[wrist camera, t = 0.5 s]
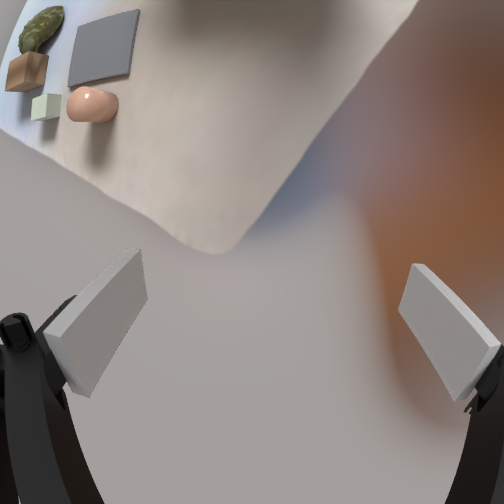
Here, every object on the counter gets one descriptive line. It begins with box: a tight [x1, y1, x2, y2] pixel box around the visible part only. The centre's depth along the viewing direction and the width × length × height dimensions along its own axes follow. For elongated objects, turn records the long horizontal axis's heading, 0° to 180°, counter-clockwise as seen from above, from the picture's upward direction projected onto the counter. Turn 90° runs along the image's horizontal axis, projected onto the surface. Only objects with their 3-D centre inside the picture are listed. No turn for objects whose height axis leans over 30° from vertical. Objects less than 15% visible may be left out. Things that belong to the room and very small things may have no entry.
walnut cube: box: [5, 51, 49, 92], centre depth 27 cm, size 6×6×6 cm
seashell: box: [18, 6, 64, 55], centre depth 24 cm, size 10×7×10 cm
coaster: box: [67, 9, 140, 87], centre depth 29 cm, size 12×12×1 cm
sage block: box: [31, 93, 61, 121], centre depth 31 cm, size 4×4×4 cm
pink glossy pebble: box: [67, 86, 119, 123], centre depth 30 cm, size 5×5×7 cm
